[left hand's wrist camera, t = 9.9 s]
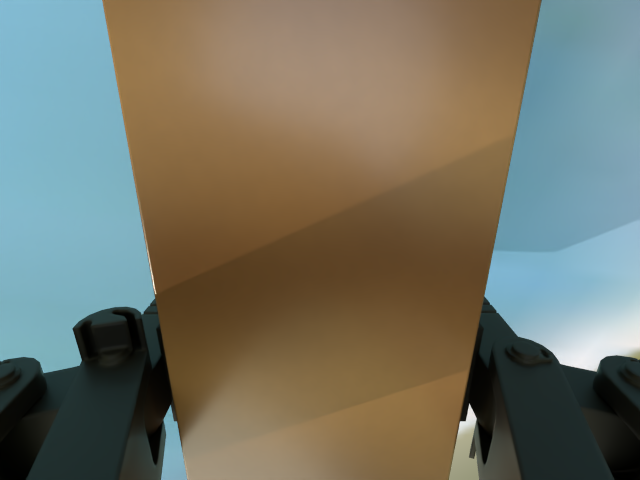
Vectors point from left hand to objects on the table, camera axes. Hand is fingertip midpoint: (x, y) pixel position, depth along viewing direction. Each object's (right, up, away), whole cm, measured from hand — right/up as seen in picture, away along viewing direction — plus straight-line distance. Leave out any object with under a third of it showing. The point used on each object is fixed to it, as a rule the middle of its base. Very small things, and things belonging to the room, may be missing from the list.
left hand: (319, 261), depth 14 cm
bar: (0, +23, -8) cm, 25 cm away
